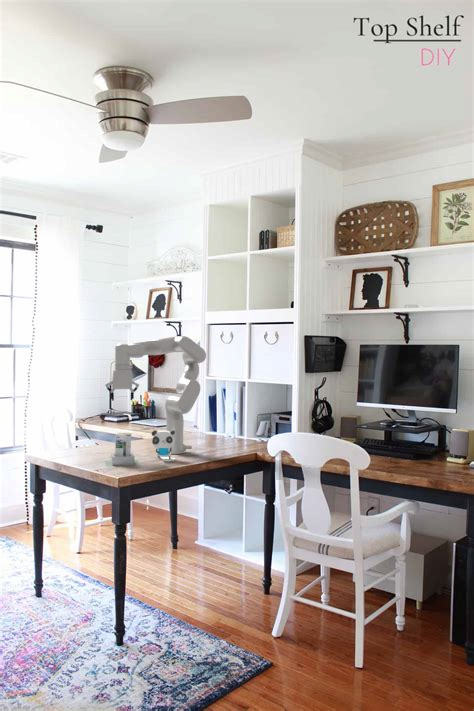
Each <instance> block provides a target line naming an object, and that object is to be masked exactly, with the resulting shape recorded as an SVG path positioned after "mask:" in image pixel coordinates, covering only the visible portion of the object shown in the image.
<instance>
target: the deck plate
mask: <svg viewBox="0 0 474 711" xmlns="http://www.w3.org/2000/svg"><path fill="white" fill-rule="evenodd" d="M104 463H105V466H106V467H127V466H128V467H129V466H130V467H131V466H133V467H134V466H141V464H140V461H139V460H138V459H134V465H112V463H111V460H105V461H104Z"/></svg>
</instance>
